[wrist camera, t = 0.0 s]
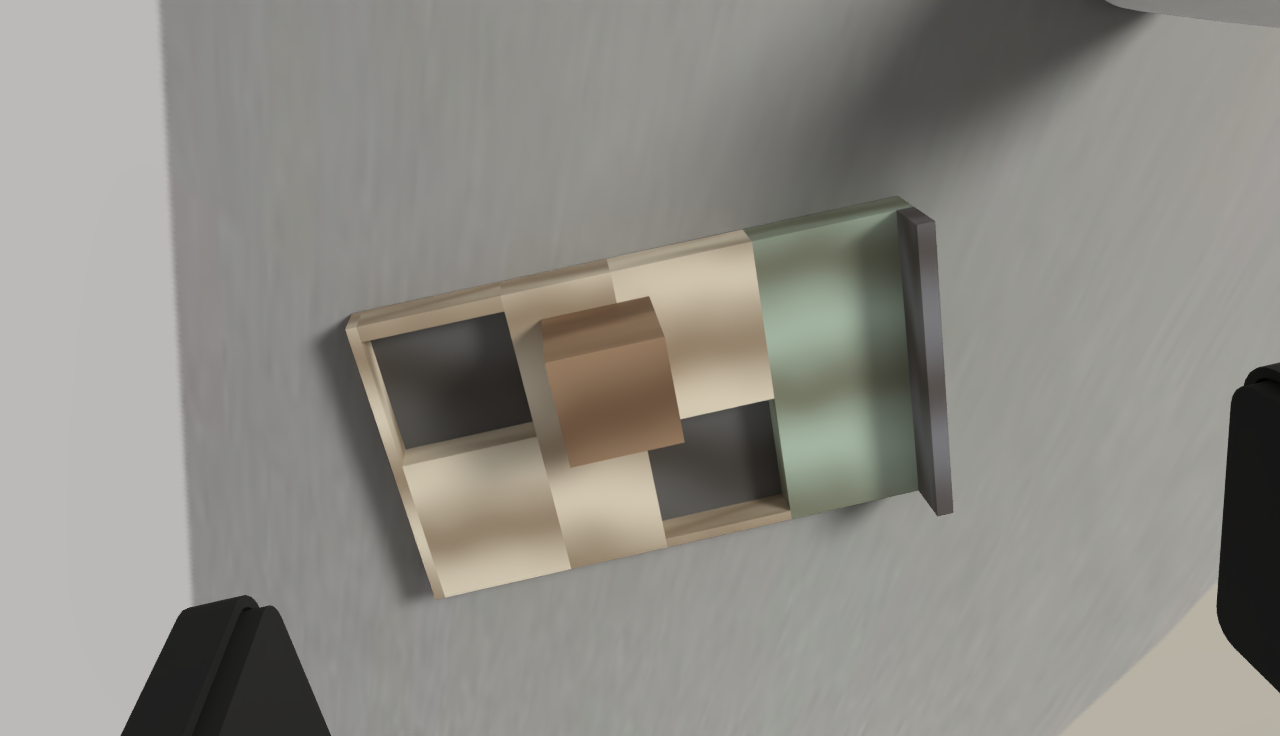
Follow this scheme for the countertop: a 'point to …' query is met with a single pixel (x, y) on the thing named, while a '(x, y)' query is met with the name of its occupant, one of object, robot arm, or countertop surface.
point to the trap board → (704, 386)
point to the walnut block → (611, 381)
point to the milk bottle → (1212, 10)
